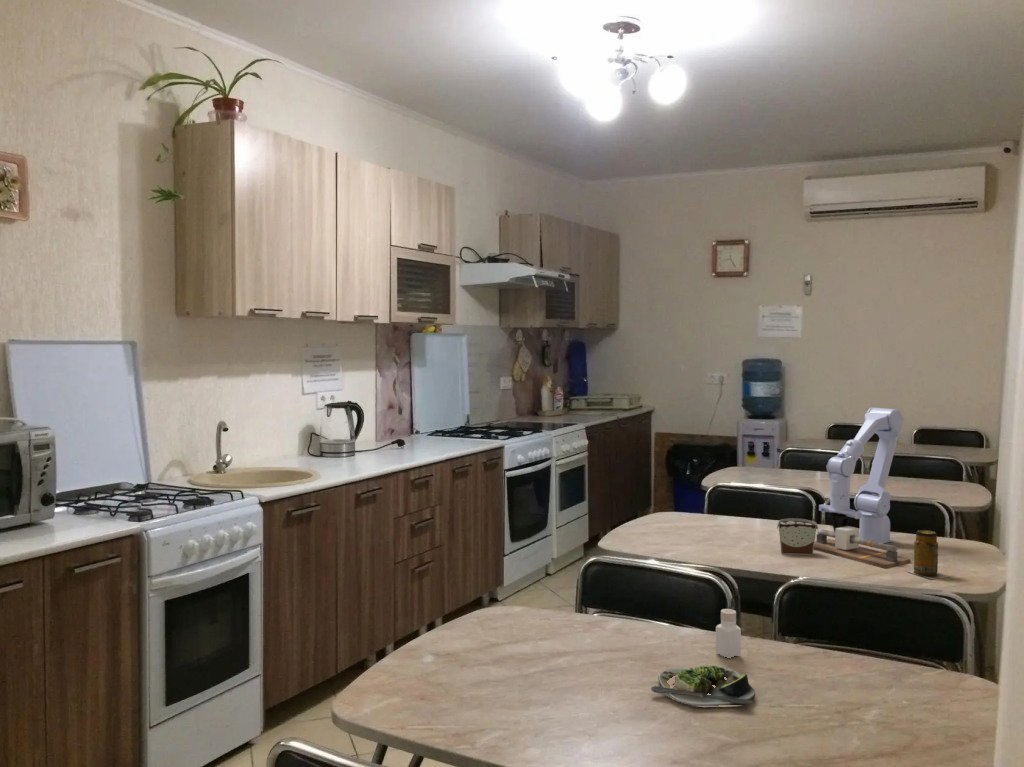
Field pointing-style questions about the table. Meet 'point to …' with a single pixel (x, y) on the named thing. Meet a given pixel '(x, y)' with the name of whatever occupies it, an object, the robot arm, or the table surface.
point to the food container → (797, 536)
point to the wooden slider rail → (860, 550)
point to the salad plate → (706, 686)
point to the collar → (846, 537)
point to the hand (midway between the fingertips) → (839, 537)
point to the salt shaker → (728, 635)
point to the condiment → (926, 555)
